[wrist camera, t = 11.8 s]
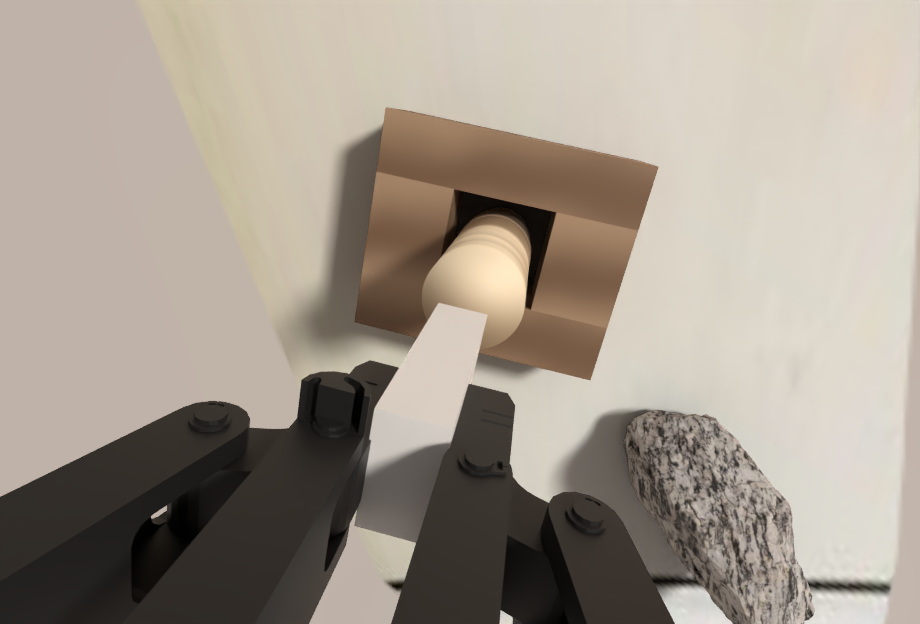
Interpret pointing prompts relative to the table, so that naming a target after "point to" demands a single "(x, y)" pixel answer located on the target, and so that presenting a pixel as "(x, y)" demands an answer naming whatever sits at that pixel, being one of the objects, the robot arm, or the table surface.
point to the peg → (485, 273)
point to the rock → (719, 516)
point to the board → (515, 180)
